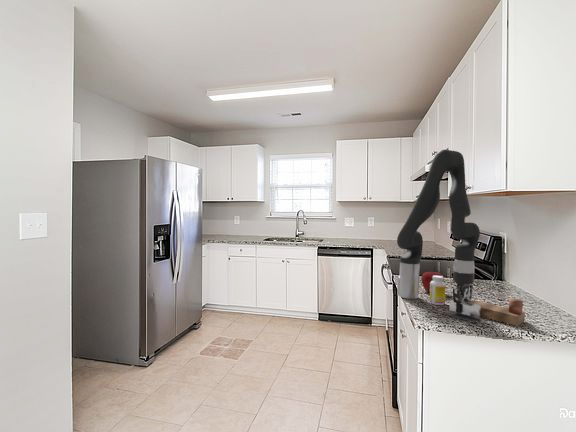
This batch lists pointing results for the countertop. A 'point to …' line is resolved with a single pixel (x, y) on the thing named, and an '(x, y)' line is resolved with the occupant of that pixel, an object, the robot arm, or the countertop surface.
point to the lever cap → (467, 308)
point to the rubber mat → (461, 316)
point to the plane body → (503, 311)
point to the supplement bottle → (437, 290)
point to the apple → (428, 279)
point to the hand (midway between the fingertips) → (462, 311)
